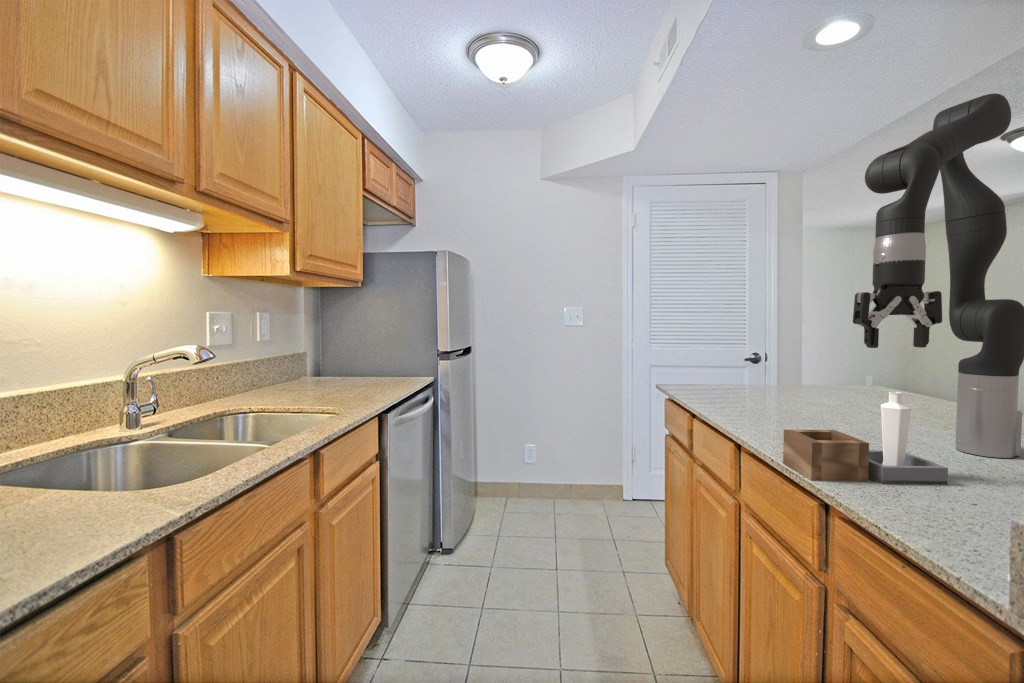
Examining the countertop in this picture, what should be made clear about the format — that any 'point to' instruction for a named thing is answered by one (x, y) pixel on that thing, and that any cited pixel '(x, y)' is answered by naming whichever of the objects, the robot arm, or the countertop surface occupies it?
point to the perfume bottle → (894, 429)
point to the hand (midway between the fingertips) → (895, 347)
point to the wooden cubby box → (826, 455)
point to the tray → (906, 470)
